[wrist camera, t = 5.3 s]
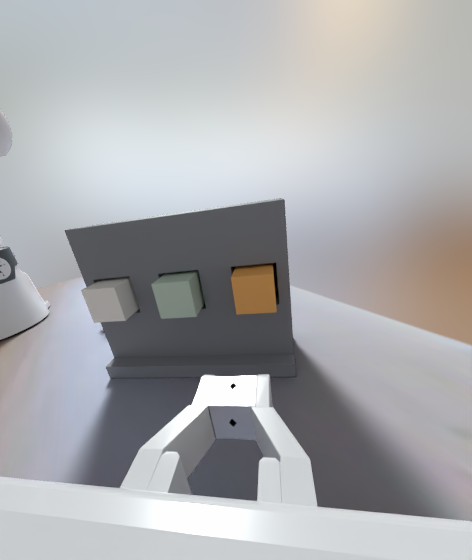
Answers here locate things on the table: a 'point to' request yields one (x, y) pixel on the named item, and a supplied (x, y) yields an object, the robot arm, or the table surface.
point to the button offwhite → (111, 299)
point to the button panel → (215, 285)
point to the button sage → (179, 294)
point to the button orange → (254, 289)
